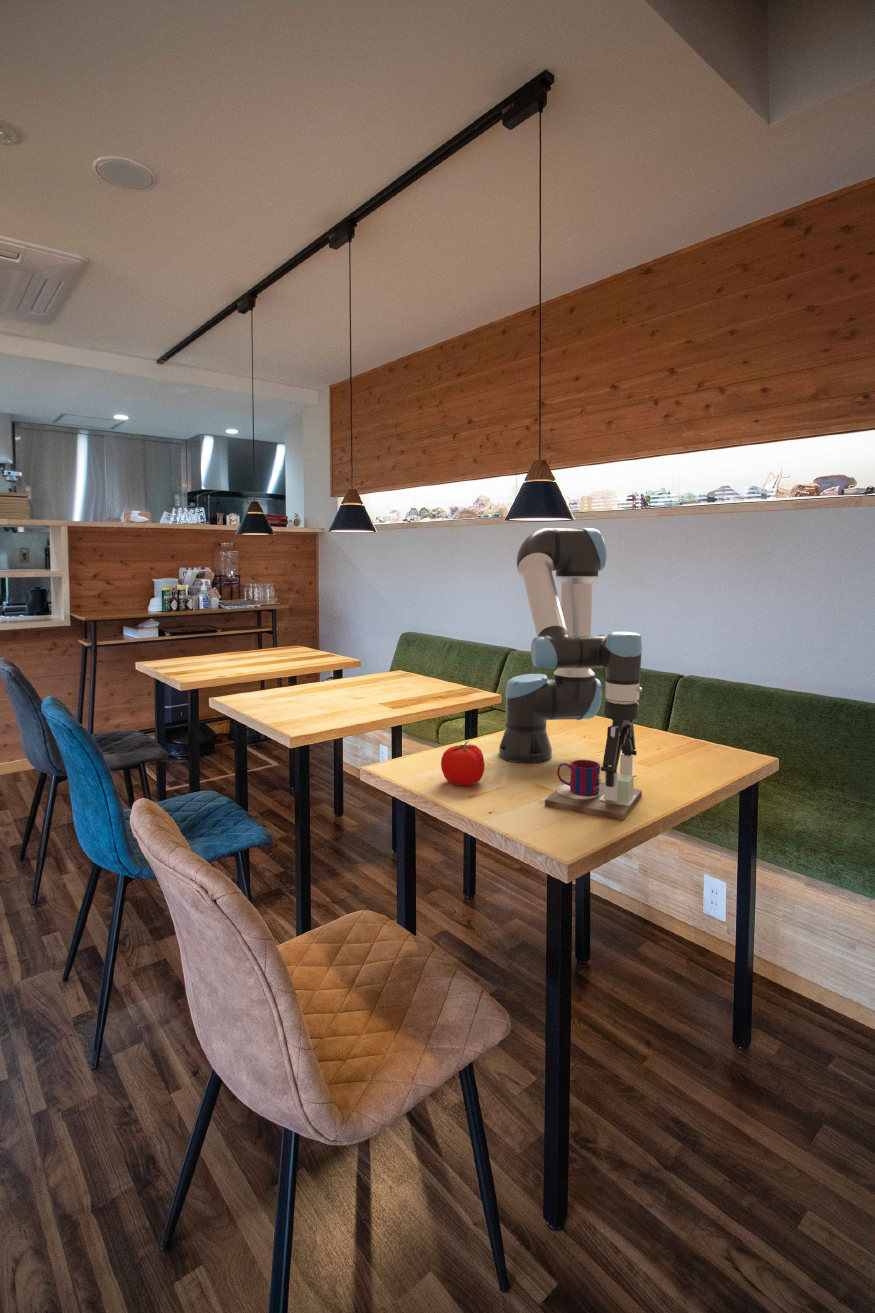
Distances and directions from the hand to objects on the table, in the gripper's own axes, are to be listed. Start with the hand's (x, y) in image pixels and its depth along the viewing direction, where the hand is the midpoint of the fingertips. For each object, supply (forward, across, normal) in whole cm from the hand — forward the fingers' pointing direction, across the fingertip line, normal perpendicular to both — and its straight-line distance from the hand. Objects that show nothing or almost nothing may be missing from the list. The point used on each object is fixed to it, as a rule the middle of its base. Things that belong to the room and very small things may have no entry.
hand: (618, 790), depth 156 cm
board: (+3, 0, +6) cm, 7 cm away
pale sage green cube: (+2, 0, 0) cm, 2 cm away
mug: (+2, 0, +10) cm, 10 cm away
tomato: (+4, -4, +38) cm, 39 cm away
